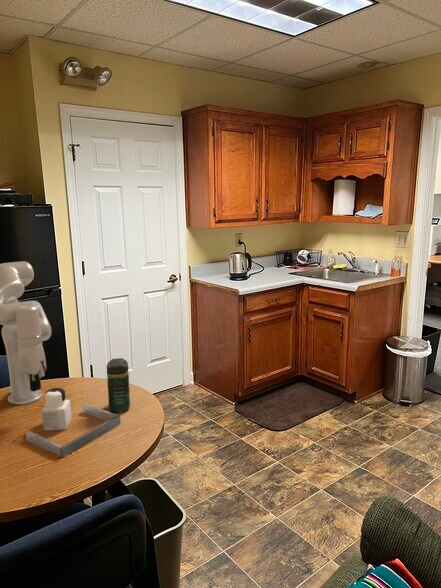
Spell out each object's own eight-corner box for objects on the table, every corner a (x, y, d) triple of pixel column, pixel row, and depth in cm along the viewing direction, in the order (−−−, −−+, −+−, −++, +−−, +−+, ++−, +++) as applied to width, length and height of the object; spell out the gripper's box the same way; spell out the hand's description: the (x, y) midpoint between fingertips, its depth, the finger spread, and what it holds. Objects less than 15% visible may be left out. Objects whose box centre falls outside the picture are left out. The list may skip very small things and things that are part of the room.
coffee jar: (130, 412, 165) (127, 364, 161) (108, 414, 163) (105, 366, 159) (130, 400, 174) (127, 355, 170) (109, 402, 172) (106, 357, 168)
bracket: (26, 440, 146) (25, 432, 146) (85, 410, 166) (84, 403, 166) (63, 457, 137) (62, 448, 136) (120, 423, 157) (120, 415, 156)
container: (49, 420, 160) (46, 386, 157) (71, 418, 160) (68, 385, 157) (43, 431, 152) (39, 395, 149) (66, 429, 153) (63, 394, 150)
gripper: (7, 340, 156) (13, 389, 160) (34, 346, 148) (39, 398, 152) (26, 335, 163) (32, 382, 166) (53, 340, 155) (58, 390, 158)
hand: (35, 389), depth 159 cm, fingers closed
